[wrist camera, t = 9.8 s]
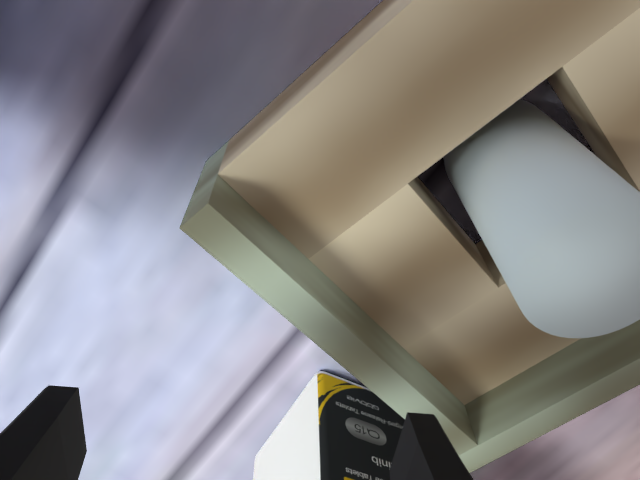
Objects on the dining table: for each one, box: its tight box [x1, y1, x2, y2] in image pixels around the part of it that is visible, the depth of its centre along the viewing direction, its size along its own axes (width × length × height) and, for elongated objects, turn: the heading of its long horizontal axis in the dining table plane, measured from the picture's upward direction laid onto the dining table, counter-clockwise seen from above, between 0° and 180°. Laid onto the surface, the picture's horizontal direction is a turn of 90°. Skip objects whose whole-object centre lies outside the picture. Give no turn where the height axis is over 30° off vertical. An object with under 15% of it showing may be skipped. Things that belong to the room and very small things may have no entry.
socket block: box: [180, 0, 640, 473], centre depth 18 cm, size 15×15×5 cm
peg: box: [444, 99, 640, 338], centre depth 16 cm, size 4×4×8 cm
